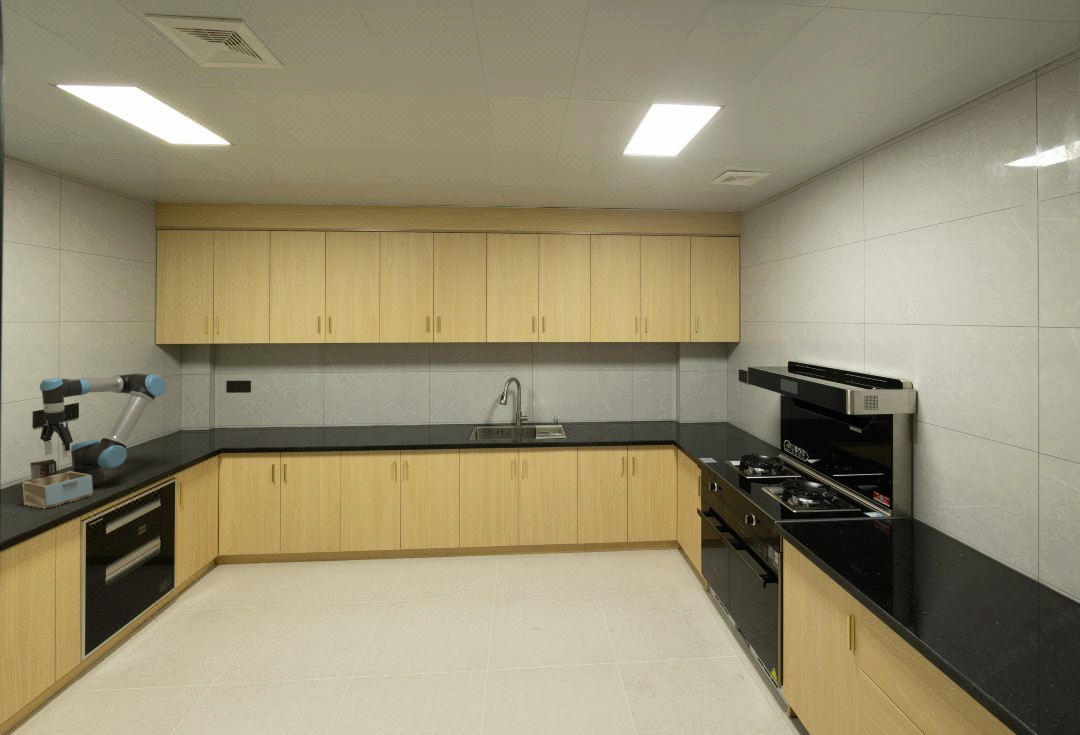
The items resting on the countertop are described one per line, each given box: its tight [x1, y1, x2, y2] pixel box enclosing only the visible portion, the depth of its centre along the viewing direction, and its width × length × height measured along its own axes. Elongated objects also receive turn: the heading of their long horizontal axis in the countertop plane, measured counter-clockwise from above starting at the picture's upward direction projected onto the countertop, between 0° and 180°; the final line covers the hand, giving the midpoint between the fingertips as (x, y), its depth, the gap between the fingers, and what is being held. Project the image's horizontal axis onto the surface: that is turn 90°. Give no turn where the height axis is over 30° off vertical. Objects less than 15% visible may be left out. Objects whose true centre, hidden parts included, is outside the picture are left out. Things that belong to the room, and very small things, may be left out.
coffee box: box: [29, 459, 58, 480], centre depth 284 cm, size 9×6×16 cm
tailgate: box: [44, 475, 94, 506], centre depth 272 cm, size 20×2×9 cm, turn 160°
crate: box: [22, 470, 92, 510], centre depth 275 cm, size 20×15×11 cm
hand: (57, 455), depth 272 cm, fingers open, 12 cm apart
